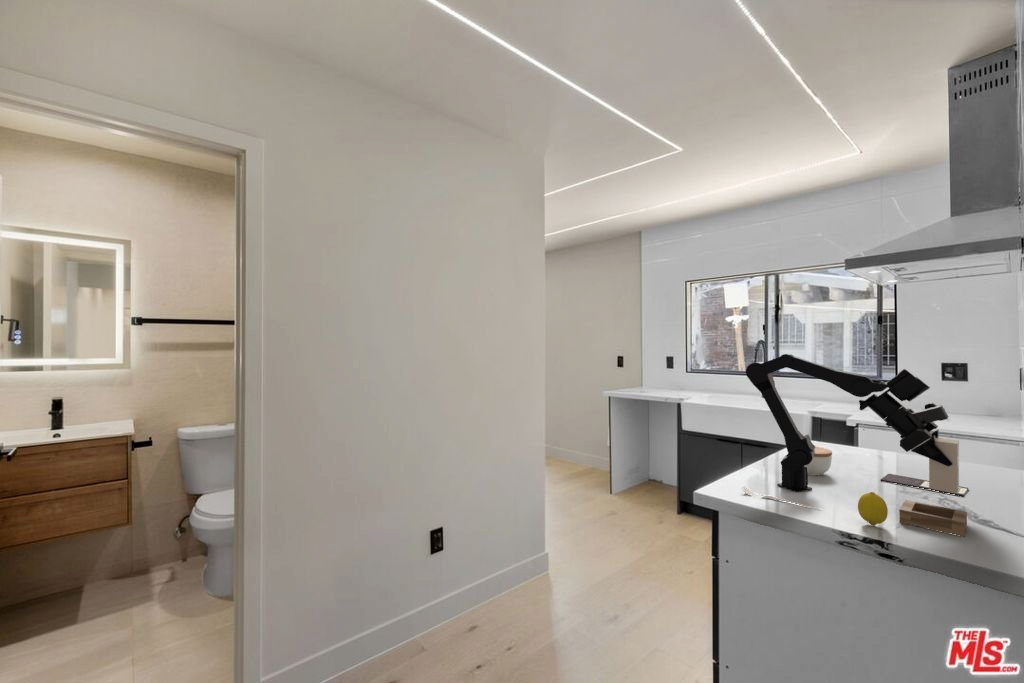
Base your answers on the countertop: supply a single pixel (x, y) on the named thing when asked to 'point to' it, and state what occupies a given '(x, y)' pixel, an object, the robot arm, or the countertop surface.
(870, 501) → the lemon
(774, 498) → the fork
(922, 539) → the countertop surface
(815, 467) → the lidded jar
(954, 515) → the tray
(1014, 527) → the countertop surface
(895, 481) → the chocolate bar
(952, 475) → the clay bar
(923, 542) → the countertop surface
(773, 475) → the countertop surface
